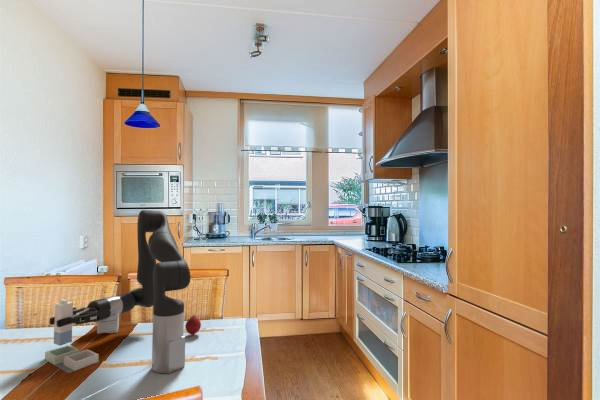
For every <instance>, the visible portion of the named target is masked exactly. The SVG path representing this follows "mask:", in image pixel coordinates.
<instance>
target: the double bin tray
mask: <svg viewBox="0 0 600 400" xmlns="http://www.w3.org/2000/svg"><path fill="white" fill-rule="evenodd" d="M99 355H100V354H99V353H96V352H94V351H92V350H91V349H88V348H87V349H84V350H81V351H80V349H79V348H77V347H75V346H73V345H71V344H67V345H66V344H65V345H62V346H60V347H56V348H53V349H50V350H47V351H45V352H44V361H46V362H48V363H50V364H52V365H53V366H54V367H57V368H58V369H60V370H62V371H63V372H65V373H67V374H71V373H74V372H77V371H80V370H83V369H84V368H88V367H90V366H93V365H95V364H98V363H99V357H100V356H99Z"/></svg>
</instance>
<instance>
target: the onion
mask: <svg viewBox="0 0 600 400" xmlns="http://www.w3.org/2000/svg"><path fill="white" fill-rule="evenodd" d="M184 327H185V331H186V332H187V333H188V334H189V335H191V336H194V335H196V334H197V333H198V332H199V331H200V329H201V327H202V323H201V320H200V319H199V318H198V317H196V314H192V315H191V317H189V318H188V320H187V321H186V323H185V325H184Z"/></svg>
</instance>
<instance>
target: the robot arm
mask: <svg viewBox="0 0 600 400" xmlns="http://www.w3.org/2000/svg"><path fill="white" fill-rule="evenodd" d="M136 223H137V225H136V226H137V229H136V230H137V253H138V254H137V255H138V256H137V257H138V258H137V259H138V261H137V273H136V281H137V282H138V283H139V284H140V285H141V287H139V288H138V287H137V288H134V289H132V290H129V291H128V292H125V293H122V294H118V295H114V296H113V295H111V296H107V297H104V298H102V297H101V298H102V299H101V298H99V299H95V300H92V301H90V302H89V303H88V304H87V307H86V306H82V307H79V308H77V307H73V315H72V316H71V318H70V317H67V318H63V319H60V320H57V327H61V326H65V325H68V324H72V325H77V326H78V325H83V324H89V323H97V322H98V321H101V320H104V319H107V318H111V317H114V316H116V315H118V314H119V315H121V314H125V313H128V312H130V311H132V310H133V309H134V307H136V306H138V307H139V306H140V307H143V308H151V307H152V308H153V309H152V338H151V339H152V340H151V341H152V344H151V345H152V346H151V351H152V352H151V370H152V372H153V373H157V374H168V375H169V374H171V373H173V372H176V371H177V370H179V369H182V368H184V367H185V364H186V362H185V361H186V336H185V335H184V331H185V330H184V327H185V325H184V324H185V303H184V302H183V301H182V300H181V299H178V298H172V297H169V296H168V295H166V292H172V291H180V290H184V289H186V288H188V286H189V285H190V283H191V271H190V267H189V265H188V262H187V261H186V259H185V258H184V257H183V255H182V254H181V252H180V250H179V247H178V245H177V242H176V240H175V236H174V235H173V233H172V231H171V229H170V225H169V221H168V217H167V214H166V213H165V212H164V211H162V210H148V209H143V210H140V211H139V213H138V217H137V222H136ZM147 233H151V235H150V236H149V238H148V240H147V237H146V236H147ZM157 261H158V262H157ZM54 319H55V317H54V316H53V317H50V318H49V321H48V322H49V325H50V326H51V325H52V326H53V325H54Z"/></svg>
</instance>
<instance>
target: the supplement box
mask: <svg viewBox="0 0 600 400" xmlns="http://www.w3.org/2000/svg"><path fill="white" fill-rule="evenodd" d="M100 299H102V297H101V298H100ZM119 321H120V314H118V315H116V316H114V317H111V318H107V319H104V320H101V321H98V322H96V324H97V326H96V327H97V328H96V334H103V333H104V334H105V333H107V334H116V333H118V332H119V325H120V324H119V323H120V322H119Z"/></svg>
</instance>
